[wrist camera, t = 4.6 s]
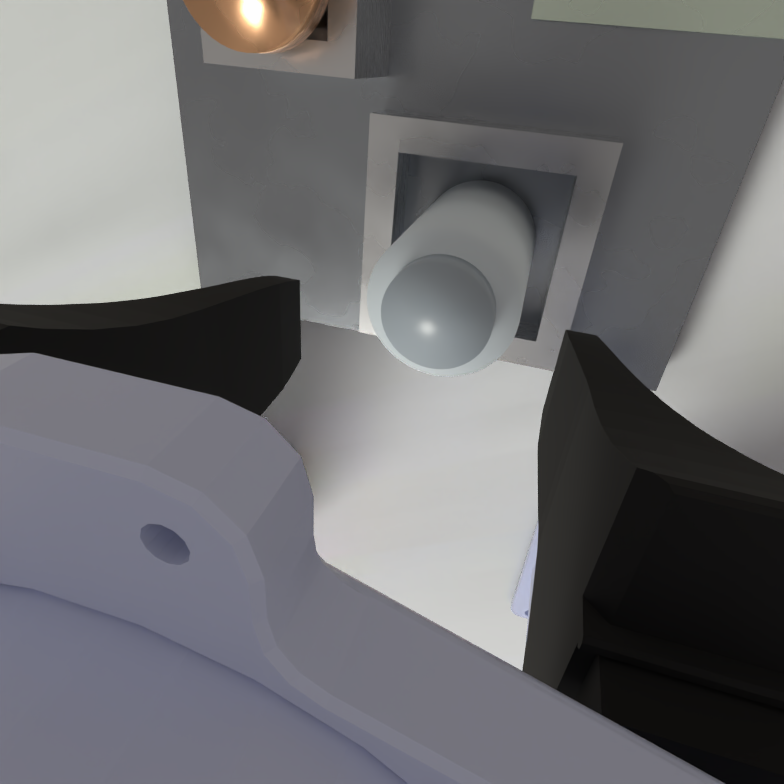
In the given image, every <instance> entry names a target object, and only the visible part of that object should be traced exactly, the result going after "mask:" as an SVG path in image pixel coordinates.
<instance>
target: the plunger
mask: <svg viewBox="0 0 784 784" xmlns="http://www.w3.org/2000/svg"><path fill="white" fill-rule="evenodd" d="M183 2H184V3H185V5H186V7H187V9H188V10H189V12H190V14H191V15H192V16H193V18H194V19H195V21H196V22H197V23H198V24H199V26H200V27H201V28H202V29H203V30H204V31H205V32H206V33H207V34H208V35H209V36H210V37H212V38H213V39H214V40H216V41H217V42H219V43H220V44H222V45H224V46H226V47H228V48H230V49H233V50H235V51H239V52H244V53H265V54H275V53H281V52H284V51H287V50H290V49H292V48H294V47H296V46H298V45H299V44H300V43H302V42H303V41H304V40H305V39H306V38H307V37H308V36H309V35H310V34H311V33H312V32H313V31H314V29H315V28H322V27H325V26H327V25H328V0H183Z"/></svg>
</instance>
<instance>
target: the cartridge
mask: <svg viewBox="0 0 784 784" xmlns="http://www.w3.org/2000/svg"><path fill="white" fill-rule="evenodd" d="M534 247H535V226H534V222H533V218H532V216H531V213H530V211H529V209H528V208H527V206H526V204H525V203H524V202H523V201H522V199H521V198H520V197H519V196H518V195H517V194H516V193H514V192H513V191H512V190H510V189H509V188H507V187H505V186H503V185H501V184H498V183H495V182H491V181H483V180H475V181H468V182H464V183H461V184H458V185H456V186H454V187H452V188H450V189H448V190H447V191H446V192H444V193H443V194H442V195H441V196H440V197H439V198H438V199H437V200H436V201H435V202H434V203H433V204H432V205H431V206H430V207H429V208H428V209H427V210H426V211H425V212H424V213H423V214H422V215H421V216H420V217H419V218H418V219H417V220H416V221H415V222H414V223H413V224H412V225H411V226H410V227H409V228H408V229H407V230H406V231H405V232H404V233H403V234H402V235H401V236H400V237H399V238H398V239H397V240H396V241H395V242H394V243H393V244H392V245H391V246H390V247H389V248H388V249H387V250H386V251H385V252H384V254H383V255H382V256H381V257H380V259H379V260H378V262H377V263H376V265H375V267H374V269H373V271H372V274H371V276H370V280H369V283H368V289H367V307H368V314H369V317H370V321H371V324H372V326H373V329H374V331H375V333H376V334H377V336H378V338H379V340H380V341H381V342H382V344H383V345H384V346H385V347H386V349H387V350H388V351H389V352H390V353H391V354H392V355H393V356H395V357H396V358H397V359H398V360H400V361H401V362H402V363H404V364H405V365H407V366H409V367H411V368H413V369H415V370H418V371H420V372H423V373H426V374H430V375H435V376H443V377H454V376H462V375H467V374H471V373H474V372H477V371H479V370H481V369H483V368H485V367H487V366H489V365H490V364H492V363H493V362H495V361H496V360H497V359H498V358H499V357H500V356H501V355H502V354H503V353H504V352H505V351H506V350H507V349H508V347H509V345H510V344H511V342H512V341H513V339H514V337H515V335H516V332H517V329H518V326H519V323H520V318H521V313H522V308H523V303H524V298H525V292H526V287H527V282H528V277H529V272H530V267H531V262H532V257H533V252H534Z"/></svg>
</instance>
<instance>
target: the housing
mask: <svg viewBox="0 0 784 784" xmlns="http://www.w3.org/2000/svg"><path fill="white" fill-rule="evenodd" d="M167 6H168V14H169V22H170V31H171V39H172V48H173V56H174V65H175V73H176V81H177V90H178V98H179V107H180V115H181V123H182V132H183V140H184V149H185V157H186V165H187V174H188V182H189V191H190V199H191V207H192V216H193V224H194V233H195V241H196V249H197V258H198V266H199V275H200V283H201V288H205V287H210V286H214V285H219V284H224V283H228V282H233V281H238V280H243V279H248V278H254V277H260V276H280V277H286V278H291V279H296V280H300V320H305V321H310V322H315V323H320V324H325V325H330V326H335V327H340V328H345V329H350V330H355V331H359V332H361V333H366V334H371V335H376V336H377V334H376V333H375V331H374V329H373V326H372V324H371V321H370V317H369V314H368V307H367V289H368V283H369V280H370V276H371V274H372V271H373V269H374V267H375V265H376V263H377V262H378V260H379V259H380V257H381V256H382V255H383V254H384V252H385V251H386V250H387V249H388V248H389V247H390V246H391V245H392V244H393V243H394V242H395V241H396V240H397V239H398V238H399V237H400V236H401V235H402V234H403V233H404V232H405V231H406V230H407V229H408V228H409V227H410V226H411V225H412V224H413V223H414V222H415V221H416V220H417V219H418V218H419V217H420V216H421V215H422V214H423V213H424V212H425V211H426V210H427V209H428V208H429V207H430V206H431V205H432V204H433V203H434V202H435V201H436V200H437V199H438V198H439V197H440V196H441V195H442V194H443V193H444V192H446V191H447V190H448V189H450V188H452V187H454V186H456V185H458V184H461V183H464V182H468V181H475V180H483V181H491V182H495V183H498V184H501V185H503V186H505V187H507V188H509V189H510V190H512V191H513V192H514V193H516V194H517V195H518V196H519V197H520V198H521V199H522V201H523V202H524V203H525V204H526V206H527V208H528V209H529V211H530V213H531V216H532V218H533V222H534V226H535V247H534V252H533V257H532V262H531V267H530V272H529V277H528V282H527V287H526V292H525V298H524V303H523V308H522V313H521V318H520V323H519V326H518V329H517V332H516V335H515V337H514V339H513V341H512V342H511V344H510V345H509V347H508V349H507V350H506V351H505V352H504V353H503V354H502V355H501V356H500V357H499V358H498V359H497V360H501V361H506V362H510V363H515V364H520V365H525V366H530V367H535V368H540V369H545V370H550V371H554V369H555V365H556V362H557V358H558V355H559V351H560V348H561V344H562V340H563V337H564V333H565V330H571V331H576V332H582V333H587V334H593V335H596V336H598V337H599V338H600V339H601V340H602V341H603V342H604V343H605V344H606V345H607V346H608V348H609V349H610V350H611V351H612V352H613V353H614V354H615V355H616V356H617V357H618V359H619V360H620V361H621V362H622V363H623V364H624V365H625V366H626V367H627V368H628V369H629V370H630V371H631V372H632V373H633V374H634V375H635V376H636V377H637V378H638V379H639V380H640V381H641V382H642V383H643V384H644V385H645V386H646V387H647V388H648V389H649V390H654V391H656V390H657V387H658V385H659V382H660V380H661V377H662V375H663V372H664V370H665V368H666V365H667V363H668V360H669V358H670V355H671V353H672V350H673V348H674V346H675V343H676V341H677V338H678V336H679V333H680V331H681V328H682V326H683V323H684V321H685V319H686V316H687V314H688V311H689V309H690V306H691V304H692V301H693V299H694V296H695V294H696V292H697V289H698V287H699V284H700V282H701V279H702V277H703V274H704V272H705V270H706V267H707V265H708V262H709V260H710V257H711V255H712V252H713V250H714V247H715V245H716V243H717V240H718V238H719V235H720V233H721V230H722V228H723V225H724V223H725V220H726V218H727V216H728V213H729V211H730V208H731V206H732V203H733V201H734V198H735V196H736V194H737V191H738V189H739V186H740V184H741V181H742V179H743V176H744V174H745V171H746V169H747V167H748V164H749V162H750V159H751V157H752V154H753V152H754V149H755V147H756V144H757V142H758V140H759V137H760V135H761V132H762V130H763V127H764V125H765V122H766V120H767V118H768V115H769V113H770V110H771V108H772V105H773V103H774V100H775V98H776V95H777V93H778V91H779V88H780V86H781V83H782V81H783V78H784V0H328V25H327V26H325V27H322V28H315V29H314V31H313V32H312V33H311V34H310V35H309V36H308V37H307V38H306V39H305V40H304V41H303V42H302V43H300V44H299V45H298V46H296V47H294V48H292V49H290V50H287V51H284V52H281V53H275V54H265V53H244V52H239V51H235V50H233V49H230V48H228V47H226V46H224V45H222V44H220V43H219V42H217V41H216V40H214V39H213V38H212V37H210V36H209V35H208V34H207V33H206V32H205V31H204V30H203V29H202V28H201V27H200V26H199V24H198V23H197V22H196V21H195V19H194V18H193V16H192V15H191V14H190V12H189V10H188V9H187V7H186V5H185V3H184V2H183V0H167Z"/></svg>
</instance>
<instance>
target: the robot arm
mask: <svg viewBox="0 0 784 784" xmlns="http://www.w3.org/2000/svg"><path fill="white" fill-rule="evenodd" d="M300 359H301V327H300V280H296V279H291V278H286V277H280V276H260V277H254V278H248V279H243V280H238V281H233V282H228V283H224V284H219V285H214V286H210V287H205V288H201V289H195V290H190V291H185V292H179V293H174V294H169V295H164V296H158V297H152V298H145V299H137V300H128V301H118V302H108V303H91V304H65V305H15V304H0V784H784V475H783V474H781V473H779V472H777V471H774V470H772V469H770V468H768V467H766V466H764V465H762V464H760V463H758V462H756V461H754V460H752V459H750V458H748V457H747V456H745V455H743V454H741V453H739V452H738V451H736V450H734V449H732V448H731V447H729V446H727V445H726V444H724V443H722V442H720V441H719V440H717V439H715V438H713V437H712V436H710V435H709V434H707V433H706V432H704V431H702V430H701V429H699V428H698V427H696V426H695V425H694V424H692V423H691V422H689V421H688V420H687V419H685V418H684V417H683V416H681V415H680V414H678V413H677V412H676V411H674V410H673V409H672V408H670V407H669V406H668V405H667V404H665V403H664V402H663V401H662V400H661V399H660V398H658V397H657V396H656V395H655V394H654V393H653V392H652V391H650V390H649V389H648V388H647V387H646V386H645V385H644V384H643V383H642V382H641V381H640V380H639V379H638V378H637V377H636V376H635V375H634V374H633V373H632V372H631V371H630V370H629V369H628V368H627V367H626V366H625V365H624V364H623V363H622V362H621V361H620V360H619V359H618V357H617V356H616V355H615V354H614V353H613V352H612V351H611V350H610V349H609V348H608V346H607V345H606V344H605V343H604V342H603V341H602V340H601V339H600V338H599V337H598V336H596V335H593V334H587V333H582V332H576V331H571V330H565V333H564V337H563V340H562V344H561V348H560V351H559V355H558V358H557V362H556V365H555V369H554V373H553V376H552V380H551V383H550V387H549V390H548V394H547V398H546V401H545V405H544V408H543V413H542V420H541V427H540V434H539V442H538V521H537V524H536V528H535V531H534V534H533V537H532V540H531V543H530V547H529V550H528V553H527V556H526V559H525V562H524V566H523V569H522V572H521V575H520V578H519V581H518V585H517V588H516V591H515V594H514V597H513V600H512V605H511V610H512V612H513V613H514V614H515V615H517V616H520V617H524V618H527V619H528V623H527V636H526V648H525V656H524V664H523V671H521V670H519V669H518V668H516V667H514V666H512V665H510V664H508V663H507V662H505V661H503V660H501V659H499V658H498V657H496V656H494V655H492V654H490V653H489V652H487V651H485V650H483V649H481V648H480V647H478V646H476V645H474V644H472V643H471V642H469V641H467V640H465V639H463V638H462V637H460V636H458V635H456V634H454V633H453V632H451V631H449V630H447V629H445V628H444V627H442V626H440V625H438V624H436V623H434V622H433V621H431V620H429V619H427V618H425V617H424V616H422V615H420V614H418V613H416V612H415V611H413V610H411V609H409V608H407V607H406V606H404V605H402V604H400V603H398V602H397V601H395V600H393V599H391V598H389V597H388V596H386V595H384V594H382V593H380V592H379V591H377V590H375V589H373V588H371V587H370V586H368V585H366V584H364V583H362V582H360V581H359V580H357V579H355V578H353V577H351V576H350V575H348V574H346V573H344V572H342V571H341V570H339V569H337V568H335V567H333V566H332V565H330V564H328V563H326V562H325V561H324V560H323V559H322V558H321V557H320V556H319V555H318V553H317V552H316V546H315V541H314V535H313V500H314V498H313V497H314V496H313V493H312V490H311V487H310V484H309V480H308V477H307V474H306V471H305V468H304V464H303V461H302V458H301V456H300V455H299V454H298V453H297V452H296V451H295V449H294V448H293V447H292V446H291V445H290V444H289V443H288V442H287V441H286V440H285V439H284V438H283V437H282V436H281V434H280V433H279V432H278V431H277V430H276V429H275V428H274V427H273V426H272V425H271V424H270V423H269V422H268V420H267V419H265V418H263V417H261V414H262V413H263V412H264V411H265V410H266V409H267V407H268V406H269V405H270V404H271V403H272V401H273V400H274V399H275V398H276V397H277V396H278V394H279V393H280V392H281V391H282V389H283V388H284V386H285V385H286V383H287V382H288V380H289V378H290V377H291V375H292V373H293V372H294V370H295V368H296V366H297V365H298V363H299V361H300Z"/></svg>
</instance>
